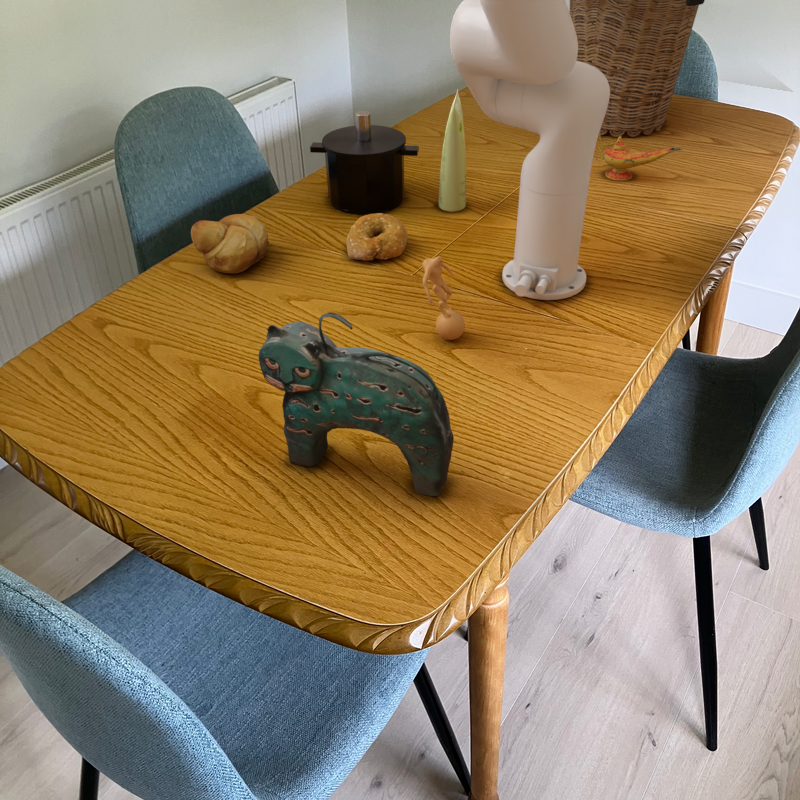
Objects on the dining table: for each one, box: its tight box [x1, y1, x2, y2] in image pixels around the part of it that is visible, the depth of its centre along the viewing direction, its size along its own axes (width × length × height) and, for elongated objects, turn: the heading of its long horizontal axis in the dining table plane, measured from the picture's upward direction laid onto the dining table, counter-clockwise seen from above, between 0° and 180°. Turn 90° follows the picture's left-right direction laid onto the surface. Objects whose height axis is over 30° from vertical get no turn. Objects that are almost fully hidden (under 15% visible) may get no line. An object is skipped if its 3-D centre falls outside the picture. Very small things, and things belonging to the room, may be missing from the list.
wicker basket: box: [569, 0, 700, 138], centre depth 163 cm, size 35×35×33 cm
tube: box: [437, 88, 467, 213], centre depth 133 cm, size 6×5×20 cm
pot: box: [309, 141, 420, 216], centre depth 139 cm, size 14×19×10 cm
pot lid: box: [321, 110, 407, 158], centre depth 134 cm, size 15×15×6 cm
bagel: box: [345, 213, 409, 262], centre depth 125 cm, size 10×11×5 cm
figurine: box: [421, 255, 466, 341], centre depth 102 cm, size 8×6×12 cm
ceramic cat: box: [257, 311, 455, 497], centre depth 79 cm, size 20×6×20 cm, turn 69°
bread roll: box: [190, 213, 270, 274], centre depth 122 cm, size 13×10×8 cm
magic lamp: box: [595, 132, 683, 181], centre depth 145 cm, size 7×18×11 cm, turn 64°
